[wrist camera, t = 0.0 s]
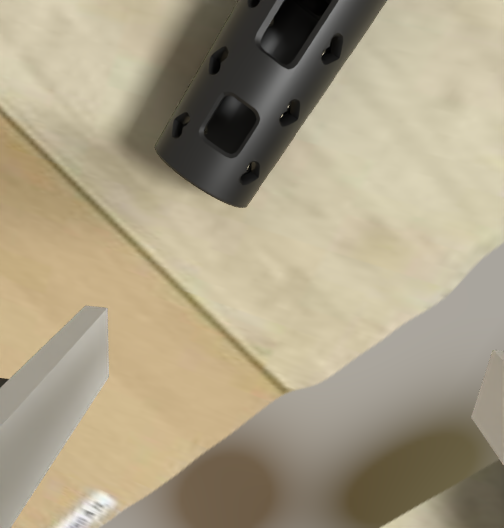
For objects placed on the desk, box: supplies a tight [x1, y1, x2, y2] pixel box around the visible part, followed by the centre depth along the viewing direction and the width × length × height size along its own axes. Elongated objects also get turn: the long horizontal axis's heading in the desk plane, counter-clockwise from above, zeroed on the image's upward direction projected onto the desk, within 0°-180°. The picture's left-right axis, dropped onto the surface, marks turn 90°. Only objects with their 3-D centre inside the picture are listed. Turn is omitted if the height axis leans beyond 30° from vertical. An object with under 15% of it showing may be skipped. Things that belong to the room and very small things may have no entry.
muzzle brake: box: [155, 0, 387, 208], centre depth 31 cm, size 10×28×10 cm, turn 146°
